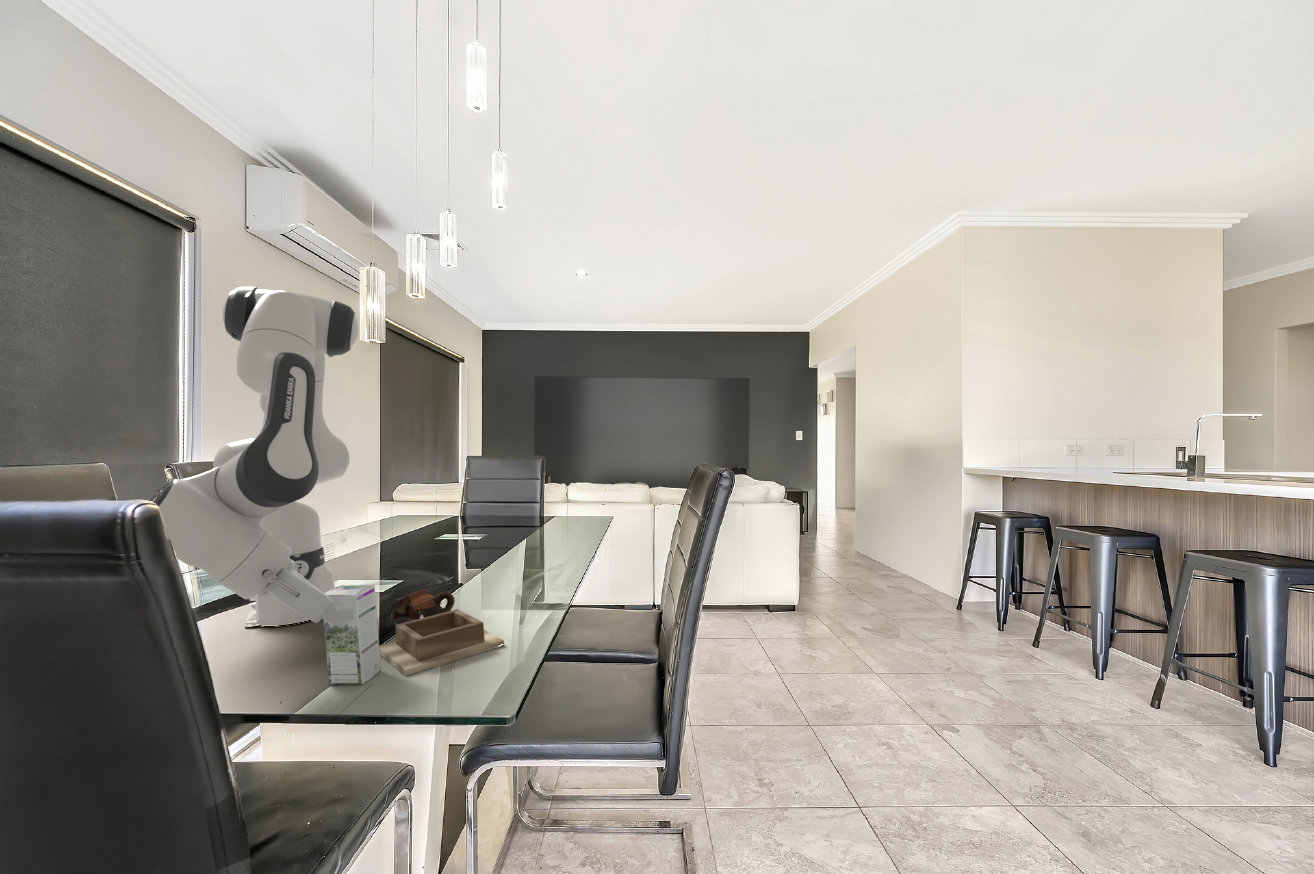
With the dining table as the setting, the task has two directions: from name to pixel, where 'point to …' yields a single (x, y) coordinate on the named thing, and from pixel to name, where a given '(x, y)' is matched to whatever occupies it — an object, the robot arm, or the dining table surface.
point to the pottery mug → (421, 605)
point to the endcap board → (437, 641)
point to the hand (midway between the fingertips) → (337, 616)
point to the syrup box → (353, 636)
